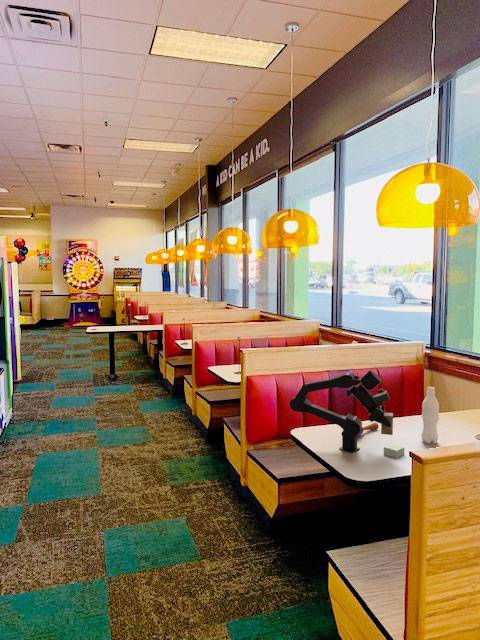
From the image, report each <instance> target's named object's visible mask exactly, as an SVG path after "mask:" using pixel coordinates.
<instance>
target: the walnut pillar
mask: <svg viewBox="0 0 480 640" xmlns="http://www.w3.org/2000/svg"><path fill="white" fill-rule="evenodd" d="M384 416H385V417H386V418H387V420H388V421H389V423H390V424H391V427H387V426H385V425H383V424H381V423H380V424H381V428H380V431H381V432H380V434H381V435H388V436H390V435H391V436H393V431H394V429H393V428H394V427H393V426H394V413H393V412H386V413H384Z"/></svg>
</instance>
